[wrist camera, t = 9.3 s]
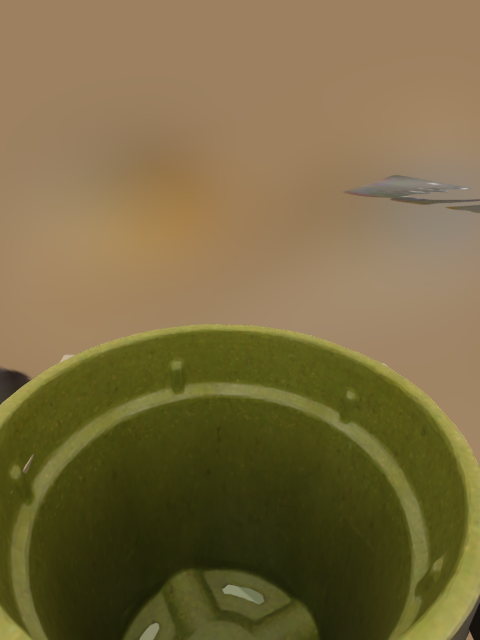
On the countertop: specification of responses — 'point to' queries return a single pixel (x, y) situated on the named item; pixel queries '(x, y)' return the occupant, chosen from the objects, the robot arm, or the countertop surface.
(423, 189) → the countertop surface
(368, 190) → the countertop surface
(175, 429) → the plant pot
